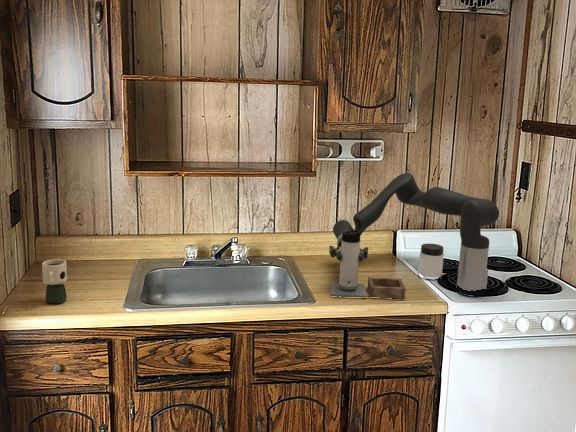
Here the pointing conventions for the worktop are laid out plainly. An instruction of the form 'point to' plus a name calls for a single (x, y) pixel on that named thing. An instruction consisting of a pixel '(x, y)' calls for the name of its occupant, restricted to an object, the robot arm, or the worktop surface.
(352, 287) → the travel mug
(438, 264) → the jar
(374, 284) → the walnut holder
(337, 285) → the cover plate
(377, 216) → the robot arm
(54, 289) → the character mug
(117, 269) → the worktop surface
